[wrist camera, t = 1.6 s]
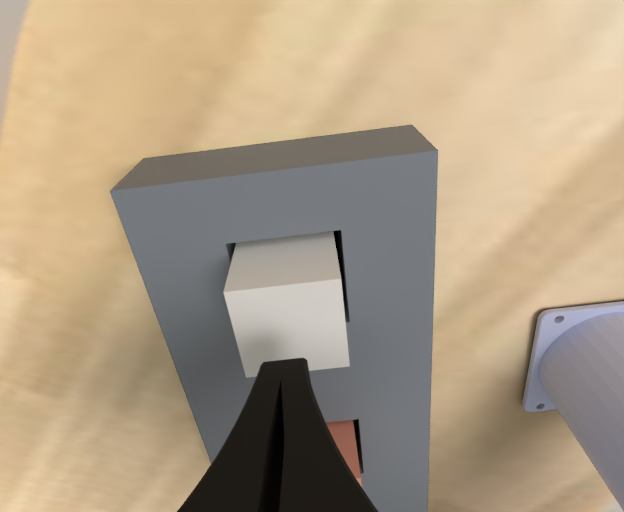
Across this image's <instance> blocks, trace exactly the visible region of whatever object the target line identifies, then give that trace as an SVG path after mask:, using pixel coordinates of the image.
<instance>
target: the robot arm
mask: <svg viewBox="0 0 624 512" xmlns="http://www.w3.org/2000/svg"><path fill="white" fill-rule="evenodd" d="M557 316H559V317H558V318H556V317H557ZM555 318H556V319H555ZM522 406H523V408H524V409H525V411H527V412H539V411H548V410H558V412H559V413H560V415H561V416H562V418H563V419H564V421H565V422H566V424H567V425H568V427H569V428H570V430H571V431H572V433H573V435H574V436H575V438H576V439H577V441H578V442H579V444H580V445H581V447H582V448H583V450H584V451H585V453H586V454H587V456H588V457H589V459H590V460H591V462H592V464H593V465H594V467H595V468H596V470H597V471H598V473H599V474H600V476H601V477H602V479H603V480H604V482H605V483H606V485H607V486H608V488H609V489H610V491H611V493H612V494H613V496H614V497H615V499H616V500H617V502H618V503H619V505H620V506H621V508H622V509H623V511H624V301H620V302H611V303H603V304H594V305H585V306H576V307H567V308H558V309H549V310H545V311H543V312H541V313H540V314H539V316H538V320H537V325H536V331H535V336H534V342H533V347H532V353H531V358H530V364H529V369H528V375H527V380H526V386H525V391H524V397H523V402H522ZM177 512H378V510H377V509H376V508H375V506H374V505H373V503H372V502H371V500H370V499H369V497H368V496H367V494H366V493H365V491H364V490H363V488H362V487H361V486H360V484H359V483H358V481H357V479H356V478H355V476H354V475H353V473H352V471H351V470H350V468H349V466H348V465H347V463H346V461H345V459H344V458H343V456H342V454H341V452H340V450H339V449H338V447H337V445H336V443H335V441H334V439H333V437H332V435H331V433H330V431H329V429H328V427H327V424H326V422H325V420H324V418H323V415H322V413H321V410H320V408H319V405H318V403H317V400H316V398H315V395H314V392H313V388H312V385H311V380H310V374H309V368H308V362H307V360H306V359H305V358H295V359H286V360H277V361H268V362H263V363H262V364H261V366H260V369H259V372H258V374H257V377H256V380H255V382H254V384H253V387H252V389H251V391H250V394H249V396H248V398H247V400H246V403H245V405H244V407H243V409H242V411H241V413H240V415H239V417H238V419H237V421H236V423H235V425H234V427H233V428H232V430H231V432H230V434H229V435H228V437H227V439H226V441H225V443H224V444H223V446H222V448H221V450H220V451H219V453H218V454H217V456H216V458H215V459H214V461H213V462H212V464H211V466H210V467H209V469H208V470H207V472H206V473H205V475H204V476H203V478H202V479H201V480H200V482H199V483H198V485H197V486H196V487H195V489H194V490H193V491H192V493H191V494H190V496H189V497H188V498H187V500H186V501H185V502H184V504H183V505H182V506H181V507H180V509H179V510H178V511H177Z"/></svg>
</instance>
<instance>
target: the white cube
mask: <svg viewBox="0 0 624 512" xmlns="http://www.w3.org/2000/svg"><path fill="white" fill-rule="evenodd" d="M223 293H224V297H225V300H226V304H227V308H228V312H229V315H230V319H231V323H232V327H233V330H234V334H235V338H236V342H237V346H238V349H239V353H240V357H241V361H242V364H243V368H244V372H245V376H246V378H248V377H257V374H258V372H259V369H260V366H261V364H262V363H263V362H268V361H277V360H286V359H295V358H305V359H306V360H307V362H308V368H309V371H313V370H322V369H331V368H340V367H349V366H350V362H349V352H348V342H347V332H346V322H345V311H344V301H343V291H342V281H341V274H340V268H339V262H338V256H337V250H336V244H335V238H334V232H333V231H328V232H320V233H312V234H303V235H295V236H286V237H278V238H270V239H261V240H253V241H244V242H236V246H235V249H234V253H233V257H232V261H231V265H230V269H229V272H228V276H227V280H226V284H225V288H224V292H223Z"/></svg>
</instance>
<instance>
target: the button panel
mask: <svg viewBox="0 0 624 512" xmlns="http://www.w3.org/2000/svg"><path fill="white" fill-rule="evenodd" d="M437 167H438V150H437V149H436V148H435V147H434V146H433V145H432V144H431V143H430V142H429V141H428V140H427V139H426V138H425V137H424V136H423V135H422V134H421V133H420V132H419V131H418V130H417V129H416V128H415V127H414V126H413V125H407V126H399V127H391V128H383V129H375V130H367V131H359V132H351V133H343V134H335V135H327V136H319V137H311V138H303V139H295V140H288V141H280V142H272V143H264V144H256V145H248V146H240V147H232V148H224V149H216V150H208V151H200V152H192V153H184V154H176V155H168V156H160V157H152V158H144V159H143V160H142V161H141V162H140V163H139V164H138V165H136V166H135V167H134V168H133V169H132V170H131V171H130V172H129V173H128V174H127V175H126V176H125V177H124V178H123V179H122V180H121V181H120V182H119V183H118V184H117V185H116V186H115V187H114V188H113V189H112V190H110V193H111V195H112V198H113V201H114V203H115V206H116V209H117V212H118V214H119V217H120V220H121V222H122V225H123V228H124V230H125V233H126V236H127V238H128V241H129V244H130V246H131V249H132V252H133V254H134V257H135V260H136V262H137V265H138V268H139V270H140V273H141V276H142V279H143V281H144V284H145V287H146V289H147V292H148V295H149V297H150V300H151V303H152V305H153V308H154V311H155V313H156V316H157V319H158V321H159V324H160V327H161V329H162V332H163V335H164V338H165V340H166V343H167V346H168V348H169V351H170V354H171V356H172V359H173V362H174V364H175V367H176V370H177V372H178V375H179V378H180V380H181V383H182V386H183V388H184V391H185V394H186V396H187V399H188V402H189V405H190V407H191V410H192V413H193V415H194V418H195V421H196V423H197V426H198V429H199V431H200V434H201V437H202V439H203V442H204V445H205V447H206V450H207V453H208V455H209V458H210V461H211V464H212V462H213V461H214V459H215V458H216V456H217V454H218V453H219V451H220V450H221V448H222V446H223V444H224V443H225V441H226V439H227V437H228V435H229V434H230V432H231V430H232V428H233V427H234V425H235V423H236V421H237V419H238V417H239V415H240V413H241V411H242V409H243V407H244V405H245V403H246V400H247V398H248V396H249V394H250V391H251V389H252V387H253V384H254V382H255V380H256V377H248V378H246V376H245V372H244V368H243V364H242V361H241V357H240V353H239V349H238V346H237V342H236V338H235V334H234V330H233V327H232V323H231V319H230V315H229V312H228V308H227V304H226V300H225V297H224V293H223V292H224V288H225V284H226V280H227V276H228V272H229V269H230V265H231V261H232V257H233V253H234V249H235V246H236V242H244V241H253V240H261V239H270V238H278V237H286V236H295V235H303V234H312V233H320V232H328V231H337V232H338V242H339V252H340V262H341V273H342V274H341V281H342V291H343V301H344V311H345V322H346V332H347V342H348V352H349V362H350V366H349V367H340V368H331V369H322V370H313V371H309V374H310V380H311V385H312V388H313V392H314V395H315V398H316V400H317V403H318V405H319V408H320V410H321V413H322V415H323V418H324V420H325V422H326V423H327V422H336V421H346V420H353V424H354V431H355V438H356V446H357V453H358V460H359V467H360V475H361V483H362V488H363V490H364V491H365V493H366V494H367V496H368V497H369V499H370V500H371V502H372V503H373V505H374V506H375V508H376V509H377V510H378V512H427V507H428V473H429V439H430V405H431V371H432V337H433V303H434V269H435V235H436V201H437Z"/></svg>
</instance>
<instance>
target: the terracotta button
mask: <svg viewBox="0 0 624 512" xmlns="http://www.w3.org/2000/svg"><path fill="white" fill-rule="evenodd" d="M326 424H327V427H328V429H329V431H330V433H331V435H332V437H333V439H334V441H335V443H336V445H337V447H338V449H339V450H340V452H341V454H342V456H343V458H344V459H345V461H346V463H347V465H348V466H349V468H350V470H351V471H352V473H353V475H354V476H355V478H356V479H357V481H358V483H359V484H360V486H361V487H362V483H361V475H360V467H359V460H358V453H357V446H356V438H355V431H354V424H353V420H346V421H336V422H327V423H326Z"/></svg>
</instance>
